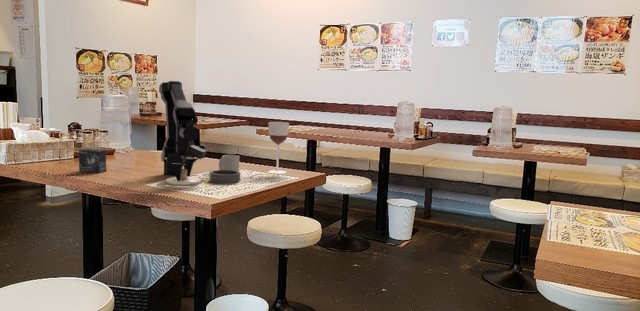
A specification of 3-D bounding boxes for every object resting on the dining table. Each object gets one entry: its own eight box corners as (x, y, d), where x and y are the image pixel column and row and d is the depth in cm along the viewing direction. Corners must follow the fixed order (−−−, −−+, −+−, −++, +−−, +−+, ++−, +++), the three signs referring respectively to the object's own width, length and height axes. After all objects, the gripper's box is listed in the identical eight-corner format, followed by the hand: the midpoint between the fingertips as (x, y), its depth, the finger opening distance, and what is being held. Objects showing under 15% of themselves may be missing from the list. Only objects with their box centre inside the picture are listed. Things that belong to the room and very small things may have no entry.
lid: (160, 184, 185) (160, 171, 185) (174, 178, 198) (174, 166, 197) (193, 186, 184) (193, 173, 183) (205, 180, 197) (205, 167, 196)
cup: (231, 178, 206) (231, 157, 205) (213, 175, 211) (213, 155, 210) (242, 176, 212) (242, 156, 211) (224, 173, 217) (224, 153, 216)
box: (78, 172, 206) (78, 149, 205) (86, 170, 211) (86, 148, 210) (98, 173, 204) (98, 151, 203) (106, 171, 210) (106, 149, 209)
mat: (158, 185, 185) (158, 184, 185) (173, 179, 199) (173, 177, 199) (194, 188, 183) (194, 186, 183) (207, 181, 197) (207, 180, 197)
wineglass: (263, 172, 224) (264, 122, 221) (273, 169, 234) (275, 121, 231) (281, 174, 221) (282, 123, 218) (290, 171, 230) (292, 122, 227)
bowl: (205, 183, 192) (205, 173, 192) (215, 178, 204) (215, 169, 203) (234, 185, 191) (235, 175, 190) (243, 180, 203) (243, 171, 202)
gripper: (195, 142, 179) (194, 184, 181) (212, 137, 197) (211, 175, 199) (165, 140, 180) (165, 182, 182) (185, 136, 198) (185, 174, 200)
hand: (183, 178), depth 191 cm, fingers open, 9 cm apart
